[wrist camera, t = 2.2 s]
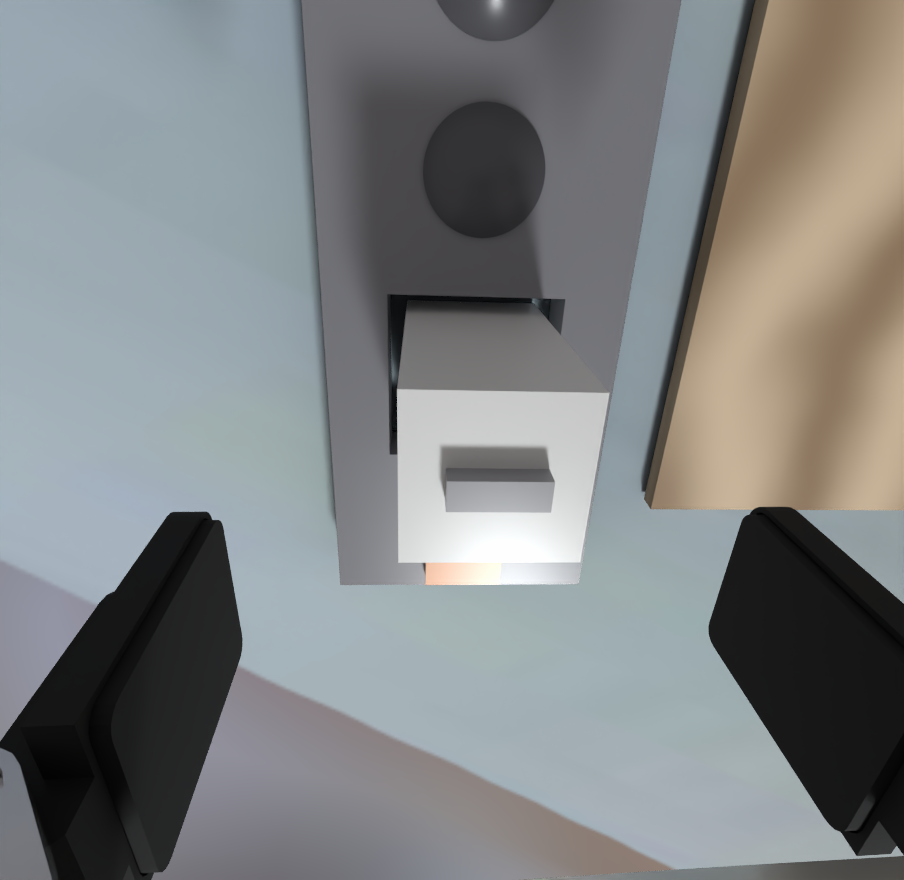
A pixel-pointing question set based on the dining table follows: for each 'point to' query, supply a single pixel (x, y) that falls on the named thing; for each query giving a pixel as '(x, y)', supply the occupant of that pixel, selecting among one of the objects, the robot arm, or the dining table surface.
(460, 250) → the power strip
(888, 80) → the wooden board
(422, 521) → the block
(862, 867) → the robot arm
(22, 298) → the dining table surface
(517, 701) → the dining table surface
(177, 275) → the dining table surface
